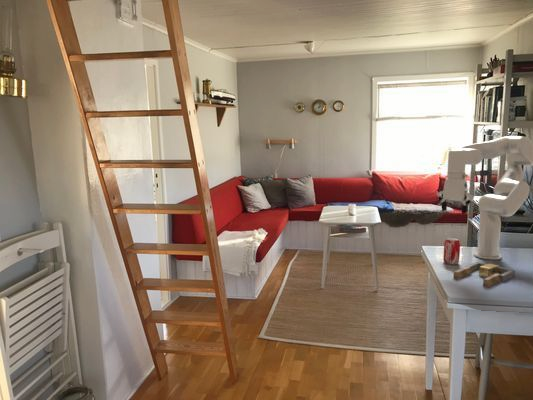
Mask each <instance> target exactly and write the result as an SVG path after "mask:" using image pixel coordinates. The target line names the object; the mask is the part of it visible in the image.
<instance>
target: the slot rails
mask: <svg viewBox="0 0 533 400" xmlns="http://www.w3.org/2000/svg"><path fill="white" fill-rule="evenodd" d="M466 266H467V267H465V266H464V267H462V268H459V269H457V270H454V271H453V279H455V280H459V279H461V278H464V277H465V276H467V275H471V272H472V271H471V267H469V266H468V265H466ZM500 275H501V274H498V273H496V274H494V275H492V276H489V277H484V278H483V279H482V280H483V281H482V287H485V288H489V287H490V286H492V285H494V284H497V283H499V282H501V281H500Z"/></svg>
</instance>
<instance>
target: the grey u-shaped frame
mask: <svg viewBox="0 0 533 400" xmlns="http://www.w3.org/2000/svg"><path fill="white" fill-rule="evenodd" d="M487 264H488V263H484V262H480V261H476V262H472V263H470V264H468V265H465V266H464V267H467V266H469V267H471V272H473V271H476V270H478V269H479V267H480V266H484V265H487ZM515 273H516V270H514V269H510V268H507V267H501V266H499V274H500V281H499V282H505V281H507V280H510V279H511V278H513V277H515Z"/></svg>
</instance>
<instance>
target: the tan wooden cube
mask: <svg viewBox="0 0 533 400" xmlns="http://www.w3.org/2000/svg"><path fill="white" fill-rule="evenodd" d="M493 268H494V267H490V266H486V265H484V266H480V267H479V268H478V269H479V270H478V276H481V277H482V278H483V277H484V278H487V277H489V276H492V275H493Z"/></svg>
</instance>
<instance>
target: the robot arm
mask: <svg viewBox="0 0 533 400" xmlns="http://www.w3.org/2000/svg"><path fill="white" fill-rule="evenodd" d="M505 155H506V165H507V167H506V171H505V173H504V174H503V175H502V176H501V178H500V179H499V180H498V181H497V183H496V184H495V185H494V188H493V193H488V194H484V195H482V196H481V197H480V198H479V200H478V210H479V224H478V225H479V226H478V238H477V239H478V240H477V241H478V242H477V251H473V255H474V257H476V258H479V259H483V260H492V261H493V260H494V261H496V260H501V259H502V258H503V257H502V254H500V253H499V252H500V250H501V248H502V247H500V241H501V240H500V239H501V226H502V221H501V217H512V216H514V215H515V213H516V212H517V211H518V210H519V209H520V208H521V206H522V205H523V204H524V202H525V201H527V199H528V197H529V196H530V190H531V189H530V185H529V184H528V183H527V182H526V181H525V180H524V177H525V173H524V170H523V166H529V167H530V166H533V141H532V140H531V139H530V138H528V137H526V136H523V135H521V136H520V135H506V136H501V137H499V138H495V139H492V140H488V141H483V142H478V143H472V144H466V145H462V146H460V147H457V148H455V149H449V151H448V155H447V174H446V176H447V177H446V178H445V180H444V185H443V190H440V191H438V192H437V193H436V196H437V197H438V200H439V202H440V203H441V212H445V211H447V210H448V202H447V201H448V200H450V201H456V202H458V201H459V202H461V203H462V205H461V214H462V215H465V214H467V212H468V205H469V204H471V203H472V201H473V200H474V198H475V197H474V195H472V194H470V193H469V192H468V191H469V190H468V189H469V188H468V182H467V181H468V180H467V179H466V178H468V177H469V176H468V174H466V166H467V165H470V166H475V165H479V164H480V163H482V161H483V160H490V159H495V158H496V159H497V158H498V157H502V156H505ZM523 180H524V181H523ZM467 199H468V200H467ZM500 216H501V217H500Z"/></svg>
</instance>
